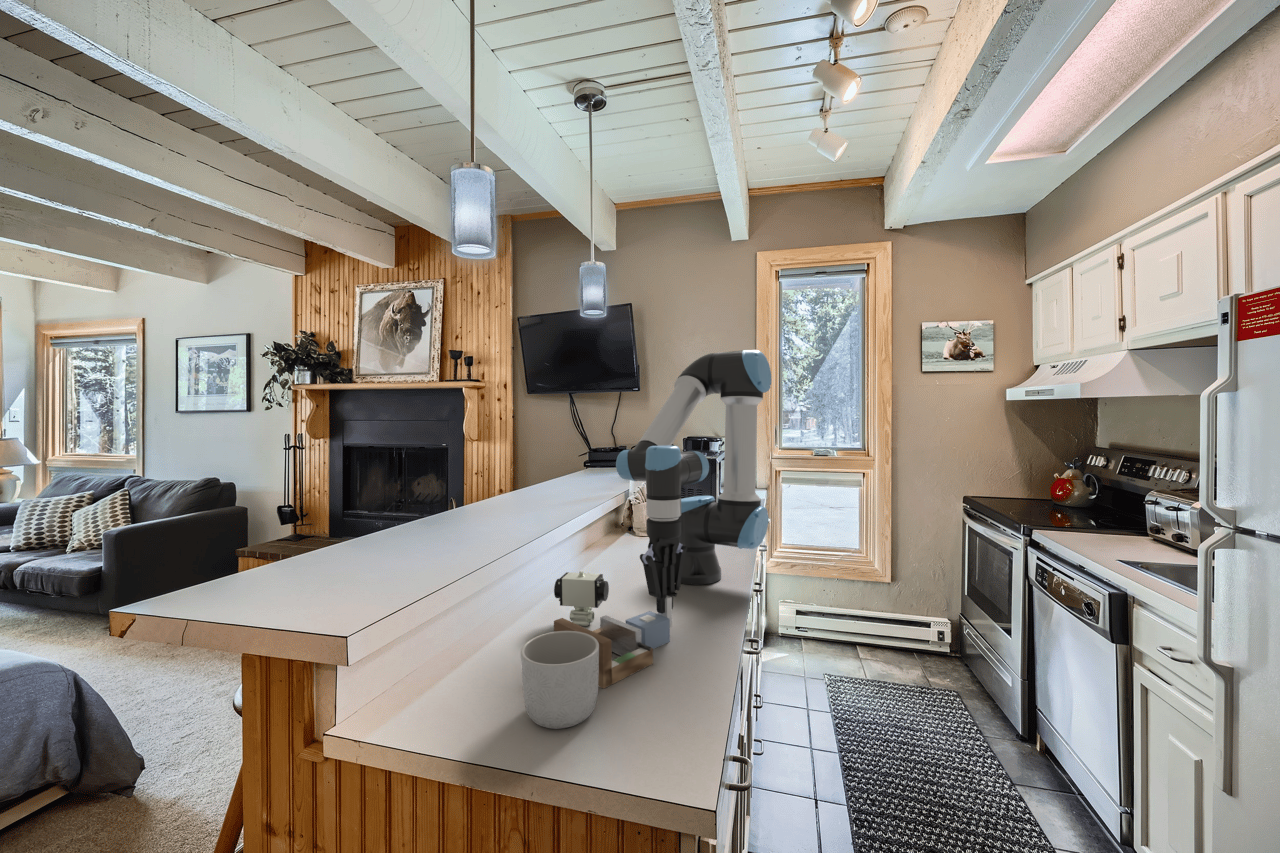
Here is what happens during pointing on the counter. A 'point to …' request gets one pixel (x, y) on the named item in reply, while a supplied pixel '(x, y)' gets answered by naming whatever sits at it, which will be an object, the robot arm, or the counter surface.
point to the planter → (560, 678)
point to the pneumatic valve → (581, 594)
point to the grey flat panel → (621, 636)
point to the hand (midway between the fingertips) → (665, 625)
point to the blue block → (652, 628)
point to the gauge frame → (610, 656)
